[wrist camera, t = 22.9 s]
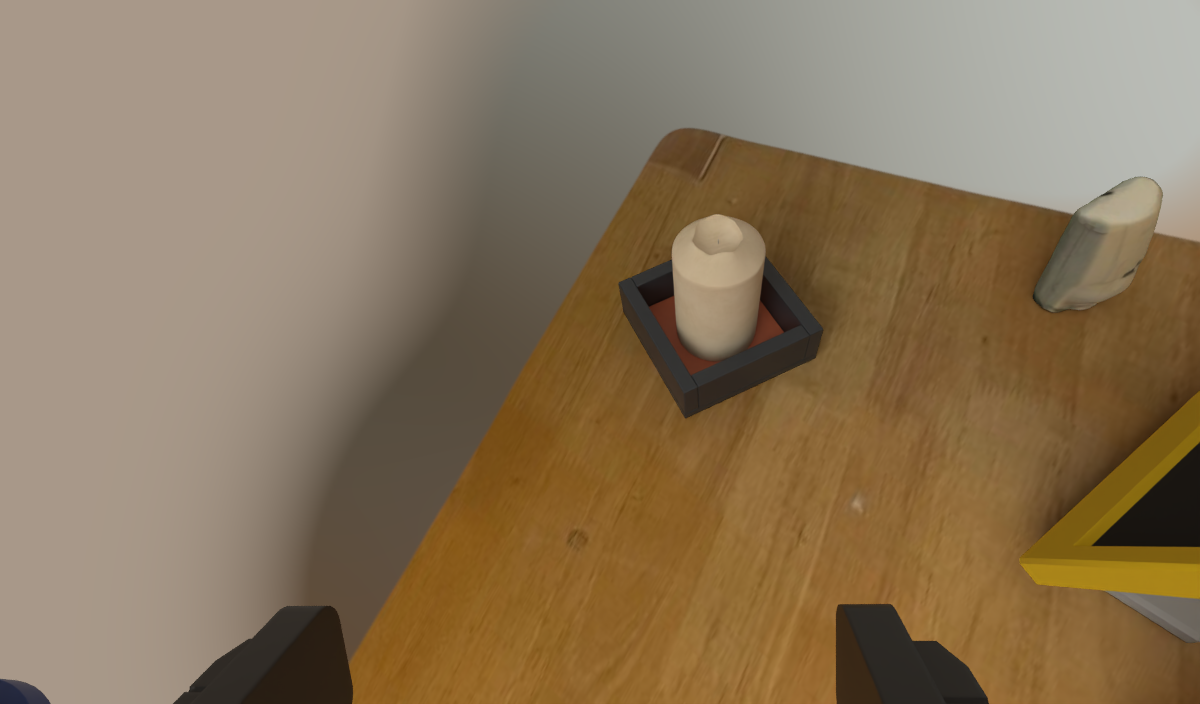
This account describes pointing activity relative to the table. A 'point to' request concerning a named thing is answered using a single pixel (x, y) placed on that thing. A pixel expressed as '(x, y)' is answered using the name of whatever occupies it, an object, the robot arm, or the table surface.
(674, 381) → the tray
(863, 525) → the table surface
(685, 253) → the candle
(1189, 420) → the toy computer monitor
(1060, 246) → the beige rounded block
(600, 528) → the table surface
